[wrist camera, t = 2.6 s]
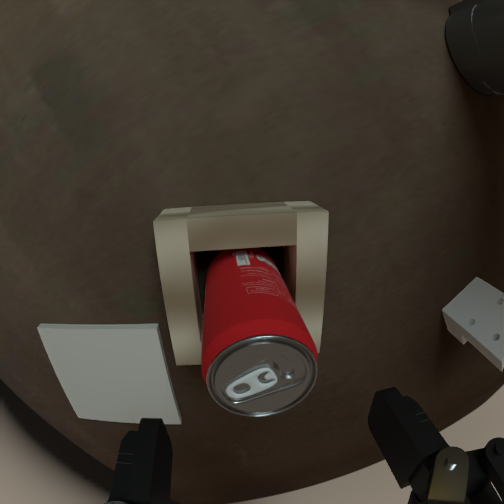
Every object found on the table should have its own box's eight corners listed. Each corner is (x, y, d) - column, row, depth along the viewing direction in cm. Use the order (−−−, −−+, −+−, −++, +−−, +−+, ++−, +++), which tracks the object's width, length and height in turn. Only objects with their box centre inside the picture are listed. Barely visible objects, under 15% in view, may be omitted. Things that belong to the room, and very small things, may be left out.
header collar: (164, 209, 21) (153, 221, 17) (309, 201, 22) (328, 211, 18) (181, 335, 24) (176, 365, 21) (305, 325, 25) (319, 352, 22)
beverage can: (286, 283, 24) (338, 388, 13) (228, 314, 24) (240, 432, 13) (255, 227, 22) (294, 307, 11) (193, 261, 23) (175, 366, 11)
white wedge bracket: (422, 348, 25) (501, 361, 18) (454, 275, 29) (522, 276, 22) (430, 367, 26) (501, 381, 19) (460, 297, 30) (523, 300, 23)
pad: (40, 323, 23) (37, 327, 22) (158, 323, 24) (156, 328, 23) (80, 412, 27) (78, 417, 26) (181, 418, 28) (181, 424, 27)
